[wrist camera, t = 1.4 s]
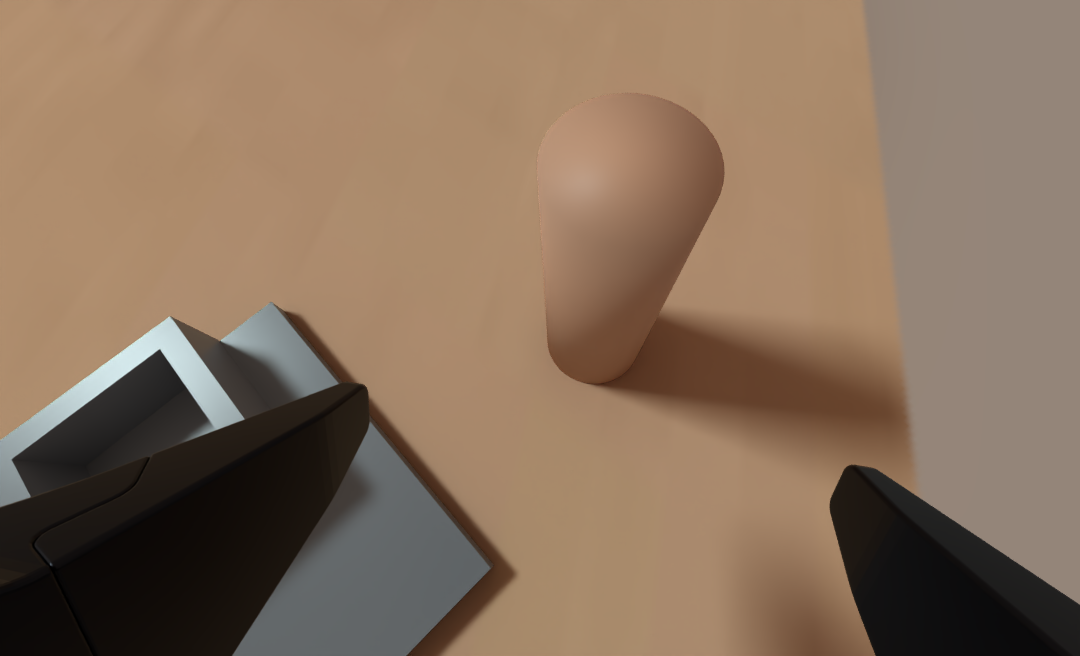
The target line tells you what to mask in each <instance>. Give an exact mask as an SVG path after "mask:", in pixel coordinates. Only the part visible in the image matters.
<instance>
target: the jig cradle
mask: <svg viewBox="0 0 1080 656" xmlns="http://www.w3.org/2000/svg"><path fill="white" fill-rule="evenodd" d="M340 383H342V381H341V380H340V379H339V378H338V376H337V375H336V374H335V373H334V372H333V370H332V369H331V368H330V367H329V366H328V364H327V363H326V362H325V361H324V359H323V358H322V357H321V356H320V355H319V353H318V352H317V351H316V350H315V349H314V347H313V346H312V345H311V344H310V343H309V341H308V340H307V339H306V338H305V337H304V335H303V334H302V333H301V332H300V330H299V329H298V328H297V327H296V326H295V324H294V323H293V322H292V321H291V320H290V318H289V317H288V316H287V315H286V314H285V312H284V311H283V310H282V309H281V308H279V307H278V306H276V305H275V304H274V303H272V302H271V303H269V304H268V305H267V306H265V307H264V308H263V309H261V310H260V311H259V312H257V313H256V314H255V315H254V316H252V317H251V318H250V319H248V320H247V321H246V322H244V323H243V324H242V325H240V326H239V327H238V328H237V329H235V330H234V331H233V332H231V333H230V334H229V335H227V336H226V337H225V338H223V339H222V340H221V341H218V340H217V339H215V338H213V337H211V336H209V335H207V334H205V333H203V332H201V331H199V330H197V329H195V328H193V327H191V326H189V325H187V324H185V323H183V322H181V321H179V320H177V319H175V318H173V317H171V316H170V317H168V318H167V319H166V320H164V321H163V322H162V323H160V324H159V325H158V326H156V327H155V328H153V329H152V330H151V331H149V332H148V333H147V334H145V335H144V336H142V337H141V338H140V339H138V340H137V341H136V342H134V343H133V344H132V345H130V346H129V347H127V348H126V349H125V350H123V351H122V352H121V353H119V354H118V355H116V356H115V357H114V358H112V359H111V360H110V361H108V362H107V363H106V364H104V365H103V366H101V367H100V368H99V369H97V370H96V371H95V372H93V373H92V374H90V375H89V376H88V377H86V378H85V379H84V380H82V381H81V382H80V383H78V384H77V385H75V386H74V387H73V388H71V389H70V390H69V391H67V392H66V393H65V394H63V395H62V396H60V397H59V398H58V399H56V400H55V401H54V402H52V403H51V404H49V405H48V406H47V407H45V408H44V409H43V410H41V411H40V412H39V413H37V414H36V415H34V416H33V417H32V418H30V419H29V420H28V421H26V422H25V423H23V424H22V425H21V426H19V427H18V428H17V429H15V430H14V431H13V432H11V433H10V434H8V435H7V436H6V437H4V438H3V439H2V440H0V507H2V506H5V505H8V504H11V503H14V502H17V501H20V500H23V499H26V498H30V497H33V496H36V495H39V494H41V493H44V492H47V491H50V490H53V489H56V488H59V487H62V486H65V485H68V484H71V483H74V482H77V481H80V480H83V479H86V478H89V477H91V476H94V475H97V474H100V473H102V472H105V471H108V470H111V469H113V468H116V467H119V466H122V465H124V464H127V463H130V462H132V461H135V460H137V459H140V458H143V457H145V456H149V457H151V455H152V454H154V453H156V452H159V451H162V450H164V449H167V448H170V447H172V446H175V445H178V444H180V443H183V442H186V441H188V440H191V439H194V438H196V437H199V436H202V435H204V434H207V433H209V432H212V431H215V430H217V429H220V428H223V427H225V426H228V425H231V424H233V423H236V422H239V421H241V420H244V419H247V418H249V417H252V416H255V415H257V414H260V413H263V412H265V411H268V410H271V409H273V408H276V407H279V406H281V405H284V404H287V403H289V402H292V401H294V400H297V399H300V398H302V397H305V396H308V395H310V394H313V393H316V392H318V391H321V390H324V389H326V388H329V387H332V386H334V385H337V384H340ZM493 566H494V565H493V564H492V563H491V561H490V560H489V559H488V558H487V556H486V555H485V554H484V553H483V552H482V550H481V549H480V548H479V547H478V546H477V544H476V543H475V542H474V541H473V540H472V538H471V537H470V536H469V535H468V534H467V532H466V531H465V530H464V529H463V527H462V526H461V525H460V524H459V523H458V521H457V520H456V519H455V518H454V517H453V515H452V514H451V513H450V512H449V511H448V509H447V508H446V507H445V506H444V504H443V503H442V502H441V501H440V500H439V498H438V497H437V496H436V495H435V494H434V492H433V491H432V490H431V489H430V488H429V486H428V485H427V484H426V483H425V482H424V480H423V479H422V478H421V477H420V475H419V474H418V473H417V472H416V471H415V469H414V468H413V467H412V466H411V465H410V463H409V462H408V461H407V460H406V459H405V457H404V456H403V455H402V454H401V453H400V451H399V450H398V449H397V448H396V446H395V445H394V444H393V443H392V442H391V440H390V439H389V438H388V437H387V436H386V434H385V433H384V432H383V431H382V430H381V428H380V427H379V426H378V425H377V424H376V422H375V421H374V420H373V419H372V417H371V416H370V424H369V428H368V431H367V433H366V435H365V437H364V439H363V441H362V443H361V445H360V447H359V449H358V451H357V453H356V455H355V457H354V459H353V461H352V463H351V465H350V467H349V469H348V471H347V473H346V475H345V477H344V479H343V481H342V483H341V485H340V487H339V489H338V491H337V493H336V495H335V497H334V498H333V500H332V502H331V503H330V505H329V506H328V508H327V510H326V511H325V513H324V514H323V516H322V517H321V519H320V521H319V522H318V524H317V525H316V527H315V528H314V530H313V531H312V533H311V534H310V536H309V538H308V539H307V541H306V542H305V544H304V545H303V547H302V548H301V550H300V552H299V553H298V555H297V556H296V558H295V559H294V561H293V562H292V564H291V566H290V567H289V569H288V570H287V572H286V573H285V575H284V576H283V578H282V579H281V581H280V583H279V584H278V586H277V587H276V589H275V590H274V592H273V593H272V595H271V597H270V598H269V600H268V601H267V603H266V604H265V606H264V607H263V609H262V610H261V612H260V614H259V615H258V617H257V618H256V620H255V621H254V623H253V624H252V626H251V628H250V629H249V631H248V632H247V634H246V635H245V637H244V638H243V640H242V642H241V643H240V645H239V646H238V648H237V649H236V651H235V652H234V654H233V655H232V656H407V655H408V654H409V653H410V652H411V651H412V650H413V649H414V647H415V646H416V645H417V644H418V643H419V642H420V641H421V640H422V639H423V638H424V637H425V636H426V635H427V634H428V633H429V632H430V631H431V630H432V629H433V628H434V627H435V626H436V625H437V624H438V623H439V622H440V621H441V620H442V619H443V618H444V617H445V616H446V614H447V613H448V612H449V611H450V610H451V609H452V608H453V607H454V606H455V605H456V604H457V603H458V602H459V601H460V600H461V599H462V598H463V597H464V596H465V595H466V594H467V593H468V592H469V591H470V590H471V589H472V588H473V587H474V586H475V585H476V584H477V583H478V581H479V580H480V579H481V578H482V577H483V576H484V575H485V574H486V573H487V572H488V571H489V570H490V569H491V568H492V567H493Z"/></svg>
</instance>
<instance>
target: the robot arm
mask: <svg viewBox="0 0 1080 656" xmlns="http://www.w3.org/2000/svg"><path fill="white" fill-rule="evenodd" d="M369 424H370V413H369V399H368V390H367V387H366V386H365V385H363V384H358V383H352V382H342V383H340V384H337V385H334V386H332V387H329V388H326V389H324V390H321V391H318V392H316V393H313V394H310V395H308V396H305V397H302V398H300V399H297V400H294V401H292V402H289V403H287V404H284V405H281V406H279V407H276V408H273V409H271V410H268V411H265V412H263V413H260V414H257V415H255V416H252V417H249V418H247V419H244V420H241V421H239V422H236V423H233V424H231V425H228V426H225V427H223V428H220V429H217V430H215V431H212V432H209V433H207V434H204V435H202V436H199V437H196V438H194V439H191V440H188V441H186V442H183V443H180V444H178V445H175V446H172V447H170V448H167V449H164V450H162V451H159V452H156V453H154V454H152V455H151V457H149V456H145V457H143V458H140V459H137V460H135V461H132V462H130V463H127V464H124V465H122V466H119V467H116V468H113V469H111V470H108V471H105V472H102V473H100V474H97V475H94V476H91V477H89V478H86V479H83V480H80V481H77V482H74V483H71V484H68V485H65V486H62V487H59V488H56V489H53V490H50V491H47V492H44V493H41V494H39V495H36V496H33V497H30V498H26V499H23V500H20V501H17V502H14V503H11V504H8V505H5V506H2V507H0V656H232V655H233V654H234V652H235V651H236V649H237V648H238V646H239V645H240V643H241V642H242V640H243V638H244V637H245V635H246V634H247V632H248V631H249V629H250V628H251V626H252V624H253V623H254V621H255V620H256V618H257V617H258V615H259V614H260V612H261V610H262V609H263V607H264V606H265V604H266V603H267V601H268V600H269V598H270V597H271V595H272V593H273V592H274V590H275V589H276V587H277V586H278V584H279V583H280V581H281V579H282V578H283V576H284V575H285V573H286V572H287V570H288V569H289V567H290V566H291V564H292V562H293V561H294V559H295V558H296V556H297V555H298V553H299V552H300V550H301V548H302V547H303V545H304V544H305V542H306V541H307V539H308V538H309V536H310V534H311V533H312V531H313V530H314V528H315V527H316V525H317V524H318V522H319V521H320V519H321V517H322V516H323V514H324V513H325V511H326V510H327V508H328V506H329V505H330V503H331V502H332V500H333V498H334V497H335V495H336V493H337V491H338V489H339V487H340V485H341V483H342V481H343V479H344V477H345V475H346V473H347V471H348V469H349V467H350V465H351V463H352V461H353V459H354V457H355V455H356V453H357V451H358V449H359V447H360V445H361V443H362V441H363V439H364V437H365V435H366V433H367V431H368V428H369ZM830 514H831V517H832V521H833V525H834V529H835V532H836V536H837V540H838V544H839V547H840V551H841V555H842V559H843V562H844V566H845V570H846V574H847V577H848V581H849V584H850V588H851V591H852V594H853V597H854V600H855V603H856V605H857V608H858V611H859V614H860V616H861V619H862V621H863V624H864V627H865V629H866V632H867V635H868V637H869V640H870V642H871V645H872V648H873V650H874V653H875V655H876V656H1080V605H1079V604H1078V603H1076V602H1075V601H1073V600H1072V599H1070V598H1069V597H1067V596H1066V595H1064V594H1063V593H1061V592H1060V591H1058V590H1057V589H1055V588H1054V587H1052V586H1051V585H1049V584H1048V583H1046V582H1045V581H1043V580H1042V579H1040V578H1039V577H1037V576H1036V575H1034V574H1033V573H1031V572H1030V571H1028V570H1027V569H1025V568H1024V567H1022V566H1021V565H1019V564H1018V563H1016V562H1015V561H1013V560H1012V559H1010V558H1009V557H1007V556H1006V555H1004V554H1003V553H1001V552H1000V551H998V550H997V549H995V548H994V547H992V546H991V545H989V544H988V543H986V542H985V541H983V540H982V539H980V538H979V537H977V536H976V535H974V534H973V533H971V532H970V531H968V530H967V529H965V528H964V527H962V526H961V525H959V524H958V523H956V522H955V521H953V520H952V519H950V518H949V517H947V516H946V515H944V514H942V513H941V512H940V511H938V510H937V509H935V508H934V507H932V506H931V505H929V504H928V503H926V502H925V501H923V500H922V499H920V498H919V497H917V496H916V495H914V494H913V493H911V492H910V491H908V490H907V489H905V488H904V487H902V486H901V485H899V484H898V483H896V482H895V481H893V480H892V479H890V478H889V477H887V476H886V475H884V474H883V473H881V472H880V471H878V470H877V469H874V468H871V467H865V466H859V465H849V466H847V467H846V468H845V469H844V471H843V473H842V475H841V477H840V479H839V481H838V484H837V486H836V488H835V490H834V492H833V494H832V497H831V500H830Z"/></svg>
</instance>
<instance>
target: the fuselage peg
mask: <svg viewBox="0 0 1080 656" xmlns="http://www.w3.org/2000/svg"><path fill="white" fill-rule="evenodd" d="M537 179H538V195H539V211H540V228H541V244H542V260H543V276H544V292H545V308H546V324H547V341H548V348H549V352H550V355H551V357H552V359H553V361H554V362H555V364H556V365H557V366H558V368H559V369H560V370H561V371H562V372H564V373H565V374H566V375H568V376H569V377H571V378H573V379H575V380H577V381H580V382H584V383H591V384H599V383H605V382H609V381H612V380H614V379H616V378H618V377H620V376H621V375H623V374H624V373H625V372H626V371H627V370H628V369H629V368H630V367H631V366H632V364H633V363H634V361H635V359H636V357H637V355H638V353H639V351H640V349H641V347H642V346H643V344H644V342H645V340H646V338H647V336H648V334H649V332H650V330H651V328H652V326H653V324H654V322H655V320H656V318H657V316H658V315H659V313H660V311H661V309H662V307H663V305H664V303H665V301H666V299H667V297H668V295H669V293H670V291H671V289H672V287H673V285H674V284H675V282H676V280H677V278H678V276H679V274H680V272H681V270H682V268H683V266H684V264H685V262H686V260H687V258H688V256H689V254H690V253H691V251H692V249H693V247H694V245H695V243H696V241H697V239H698V237H699V235H700V233H701V231H702V229H703V227H704V225H705V223H706V222H707V220H708V218H709V216H710V214H711V212H712V210H713V208H714V206H715V204H716V202H717V200H718V198H719V196H720V193H721V190H722V186H723V182H724V162H723V157H722V153H721V150H720V148H719V145H718V143H717V141H716V140H715V138H714V136H713V134H712V133H711V132H710V131H709V129H708V128H707V127H706V126H705V125H704V124H703V123H702V122H701V121H700V120H699V119H698V118H697V117H696V116H695V115H693V114H692V113H691V112H689V111H688V110H686V109H684V108H683V107H681V106H679V105H677V104H675V103H673V102H671V101H668V100H665V99H662V98H659V97H655V96H651V95H645V94H638V93H616V94H609V95H603V96H599V97H596V98H592V99H590V100H587V101H584V102H582V103H580V104H578V105H576V106H574V107H573V108H571V109H570V110H568V111H567V112H565V113H564V114H563V115H562V116H560V117H559V118H558V119H557V120H556V121H555V122H554V124H553V125H552V126H551V127H550V128H549V130H548V131H547V133H546V134H545V136H544V138H543V140H542V143H541V145H540V148H539V152H538V157H537Z"/></svg>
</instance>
